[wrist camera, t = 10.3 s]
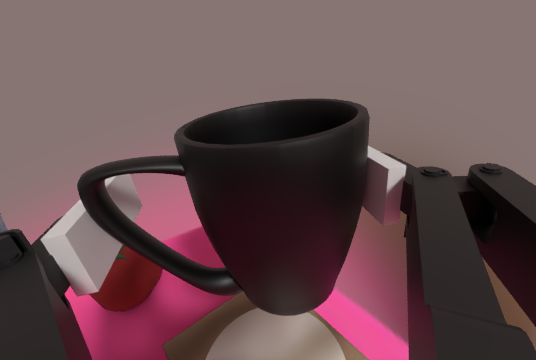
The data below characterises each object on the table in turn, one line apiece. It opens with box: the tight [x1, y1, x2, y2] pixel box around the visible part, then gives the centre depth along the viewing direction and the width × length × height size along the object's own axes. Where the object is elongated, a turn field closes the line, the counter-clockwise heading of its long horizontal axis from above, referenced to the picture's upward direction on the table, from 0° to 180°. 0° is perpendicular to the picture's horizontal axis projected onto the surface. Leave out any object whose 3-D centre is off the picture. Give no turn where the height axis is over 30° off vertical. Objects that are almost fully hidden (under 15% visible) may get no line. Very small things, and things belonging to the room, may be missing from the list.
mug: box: [77, 99, 370, 316], centre depth 13 cm, size 8×12×10 cm
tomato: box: [89, 245, 162, 311], centre depth 29 cm, size 8×8×7 cm
